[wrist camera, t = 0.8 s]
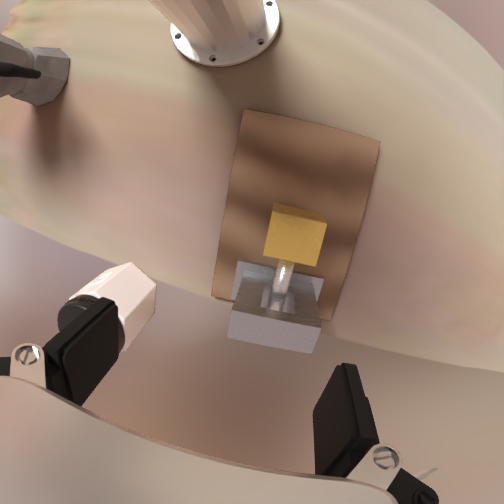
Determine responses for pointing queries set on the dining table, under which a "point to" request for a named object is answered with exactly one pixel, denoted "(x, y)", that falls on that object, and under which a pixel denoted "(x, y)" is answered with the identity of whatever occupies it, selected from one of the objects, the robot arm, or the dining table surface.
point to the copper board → (295, 195)
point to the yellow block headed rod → (292, 245)
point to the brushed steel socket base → (272, 321)
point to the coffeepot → (31, 72)
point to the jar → (116, 300)
